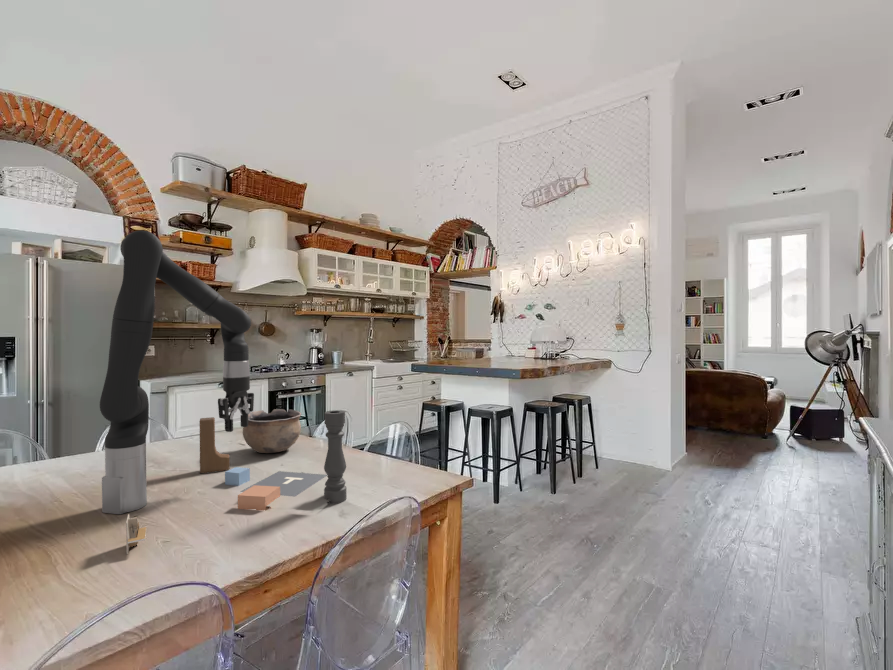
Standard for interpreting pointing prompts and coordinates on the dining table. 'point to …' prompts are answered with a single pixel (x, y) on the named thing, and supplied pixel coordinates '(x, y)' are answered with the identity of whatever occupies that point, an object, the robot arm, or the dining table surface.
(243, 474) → the blue cube
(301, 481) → the letter board
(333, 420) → the candle holder
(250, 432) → the ceramic bowl
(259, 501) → the terracotta block
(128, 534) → the architectural model
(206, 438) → the wooden block
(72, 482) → the dining table surface
